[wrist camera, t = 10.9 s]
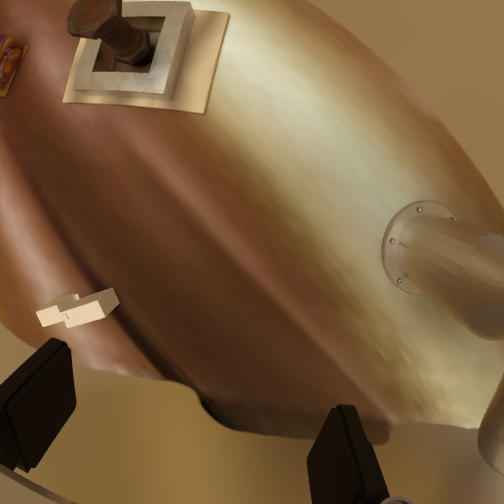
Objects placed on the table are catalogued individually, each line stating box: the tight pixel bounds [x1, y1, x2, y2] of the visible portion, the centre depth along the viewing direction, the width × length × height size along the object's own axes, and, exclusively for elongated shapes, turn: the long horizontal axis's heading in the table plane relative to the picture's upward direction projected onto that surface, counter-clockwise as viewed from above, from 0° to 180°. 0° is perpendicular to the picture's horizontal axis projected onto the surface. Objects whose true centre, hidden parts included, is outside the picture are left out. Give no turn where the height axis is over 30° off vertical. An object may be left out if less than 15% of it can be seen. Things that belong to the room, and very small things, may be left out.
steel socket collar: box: [72, 1, 196, 101], centre depth 31 cm, size 12×12×4 cm
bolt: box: [67, 0, 154, 66], centre depth 26 cm, size 6×5×15 cm
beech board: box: [63, 10, 230, 115], centre depth 33 cm, size 20×14×1 cm
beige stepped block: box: [36, 287, 119, 328], centre depth 39 cm, size 15×11×6 cm
